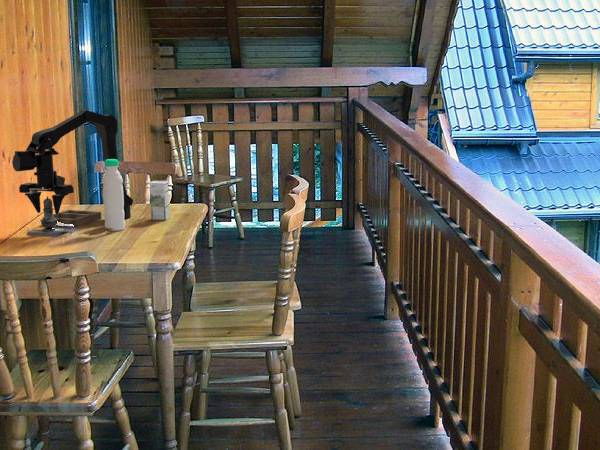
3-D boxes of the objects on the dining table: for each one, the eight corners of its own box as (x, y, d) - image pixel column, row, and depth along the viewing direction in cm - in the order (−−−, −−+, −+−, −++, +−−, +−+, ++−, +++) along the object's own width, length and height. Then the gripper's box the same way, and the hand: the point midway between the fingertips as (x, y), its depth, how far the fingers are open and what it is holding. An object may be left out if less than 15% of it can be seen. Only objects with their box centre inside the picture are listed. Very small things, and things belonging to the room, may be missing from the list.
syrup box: (169, 217, 316) (168, 180, 313) (165, 220, 310) (164, 182, 308) (155, 217, 317) (153, 179, 314) (150, 220, 311) (149, 182, 308)
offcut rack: (101, 222, 308) (101, 211, 308) (76, 230, 294) (75, 219, 293) (69, 220, 313) (68, 209, 312) (43, 228, 298) (42, 217, 297)
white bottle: (120, 231, 291) (116, 160, 286) (101, 231, 293) (97, 160, 288) (128, 227, 298) (124, 158, 293) (110, 227, 299) (106, 158, 294)
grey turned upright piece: (55, 231, 287) (53, 197, 285) (38, 231, 287) (36, 197, 285) (60, 228, 293) (58, 194, 291) (43, 228, 293) (41, 194, 291)
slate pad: (71, 231, 292) (70, 228, 292) (56, 236, 285) (56, 233, 284) (42, 229, 296) (42, 226, 296) (27, 234, 288) (27, 231, 288)
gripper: (81, 166, 290) (84, 210, 293) (36, 164, 296) (39, 208, 300) (62, 170, 280) (65, 216, 283) (16, 168, 286) (19, 213, 289)
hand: (48, 213), depth 289 cm, fingers open, 7 cm apart
